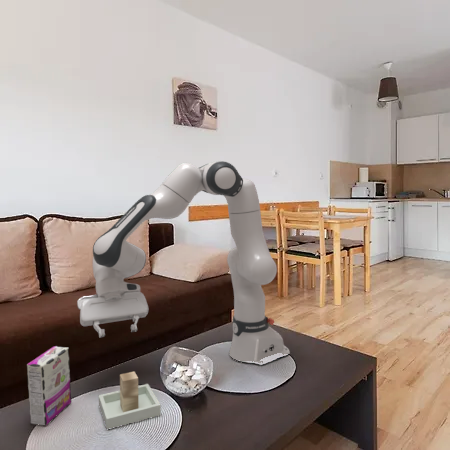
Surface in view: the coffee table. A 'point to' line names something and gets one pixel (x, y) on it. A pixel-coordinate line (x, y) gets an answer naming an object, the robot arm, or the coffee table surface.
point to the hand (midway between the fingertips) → (118, 333)
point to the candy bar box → (49, 385)
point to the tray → (146, 410)
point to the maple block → (128, 391)
